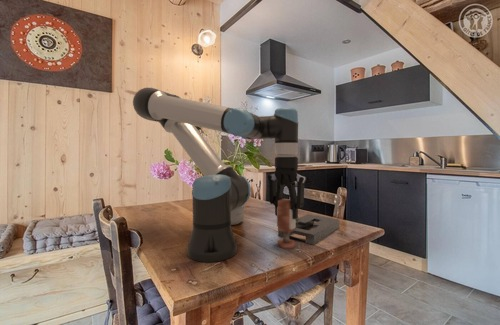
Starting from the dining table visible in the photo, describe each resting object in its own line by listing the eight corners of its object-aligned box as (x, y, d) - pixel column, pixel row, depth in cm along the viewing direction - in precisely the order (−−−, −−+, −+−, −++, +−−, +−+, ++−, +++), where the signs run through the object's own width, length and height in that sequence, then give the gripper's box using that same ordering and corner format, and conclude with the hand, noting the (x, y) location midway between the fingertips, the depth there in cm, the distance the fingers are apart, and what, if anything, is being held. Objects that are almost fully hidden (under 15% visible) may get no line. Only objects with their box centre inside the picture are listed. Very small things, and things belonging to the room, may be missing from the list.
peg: (274, 245, 80) (274, 200, 80) (283, 241, 84) (283, 198, 84) (289, 249, 77) (289, 202, 76) (297, 244, 81) (298, 200, 80)
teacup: (240, 227, 101) (240, 208, 100) (215, 225, 103) (215, 207, 102) (247, 218, 114) (247, 201, 114) (225, 217, 116) (225, 200, 116)
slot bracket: (278, 236, 90) (278, 226, 90) (307, 221, 108) (307, 214, 108) (313, 244, 81) (313, 234, 81) (339, 227, 99) (339, 219, 99)
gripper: (315, 156, 77) (315, 229, 78) (271, 156, 88) (271, 220, 89) (304, 156, 71) (304, 235, 72) (258, 156, 82) (258, 224, 83)
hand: (286, 226), depth 80 cm, fingers closed on peg, 4 cm apart
